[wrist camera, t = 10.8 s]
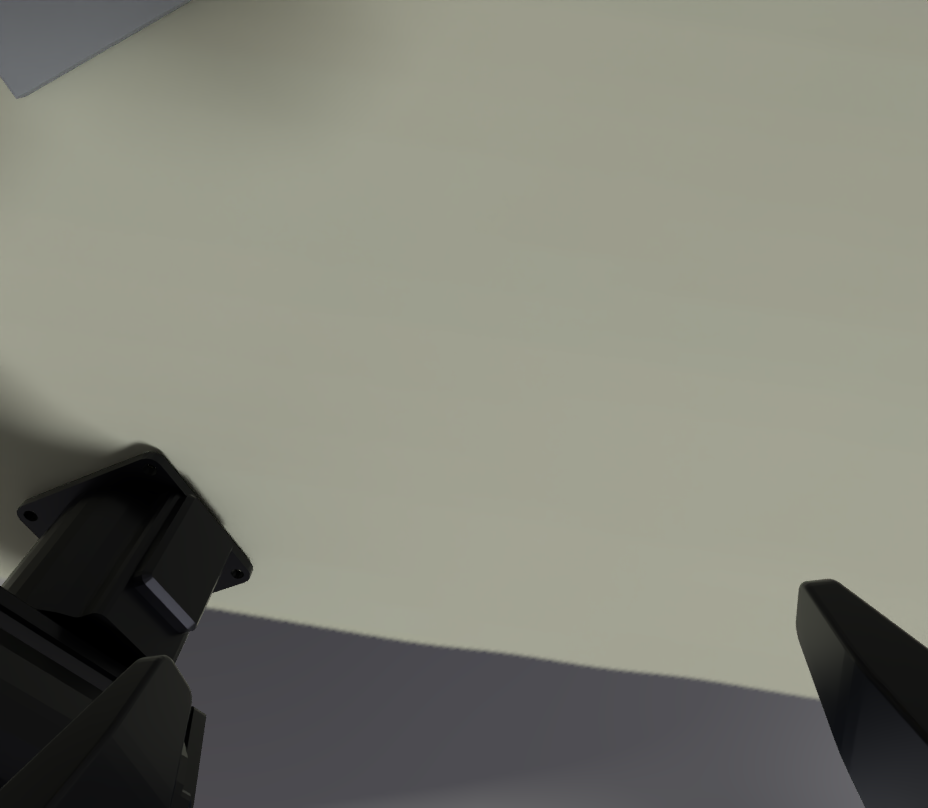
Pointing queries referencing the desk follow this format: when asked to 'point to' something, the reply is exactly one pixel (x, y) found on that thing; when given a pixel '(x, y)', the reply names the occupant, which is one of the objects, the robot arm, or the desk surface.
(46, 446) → the desk surface
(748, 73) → the desk surface
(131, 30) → the mat
